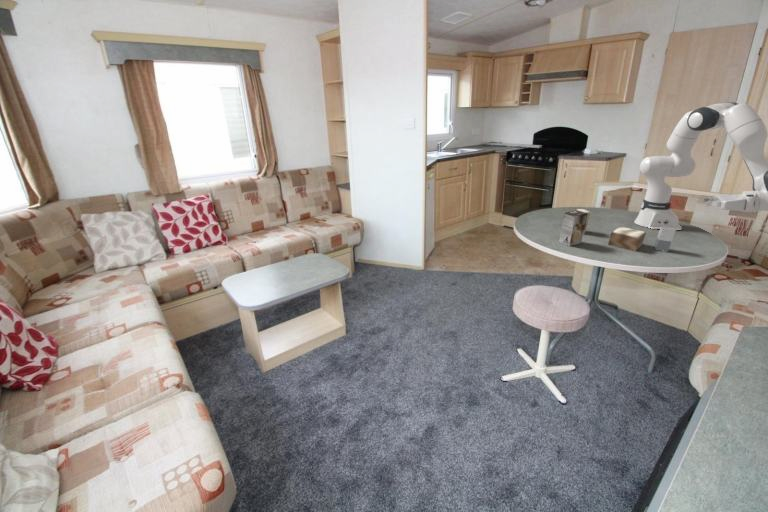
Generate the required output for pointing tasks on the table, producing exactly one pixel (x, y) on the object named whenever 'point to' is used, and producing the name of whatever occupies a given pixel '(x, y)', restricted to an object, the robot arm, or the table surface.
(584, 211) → the skincare box
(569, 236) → the coffee box
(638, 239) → the walnut stand
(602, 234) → the table surface
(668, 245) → the block
